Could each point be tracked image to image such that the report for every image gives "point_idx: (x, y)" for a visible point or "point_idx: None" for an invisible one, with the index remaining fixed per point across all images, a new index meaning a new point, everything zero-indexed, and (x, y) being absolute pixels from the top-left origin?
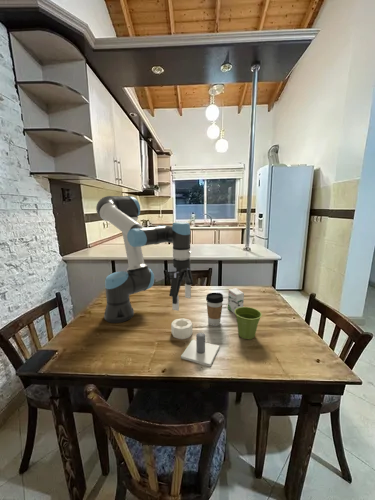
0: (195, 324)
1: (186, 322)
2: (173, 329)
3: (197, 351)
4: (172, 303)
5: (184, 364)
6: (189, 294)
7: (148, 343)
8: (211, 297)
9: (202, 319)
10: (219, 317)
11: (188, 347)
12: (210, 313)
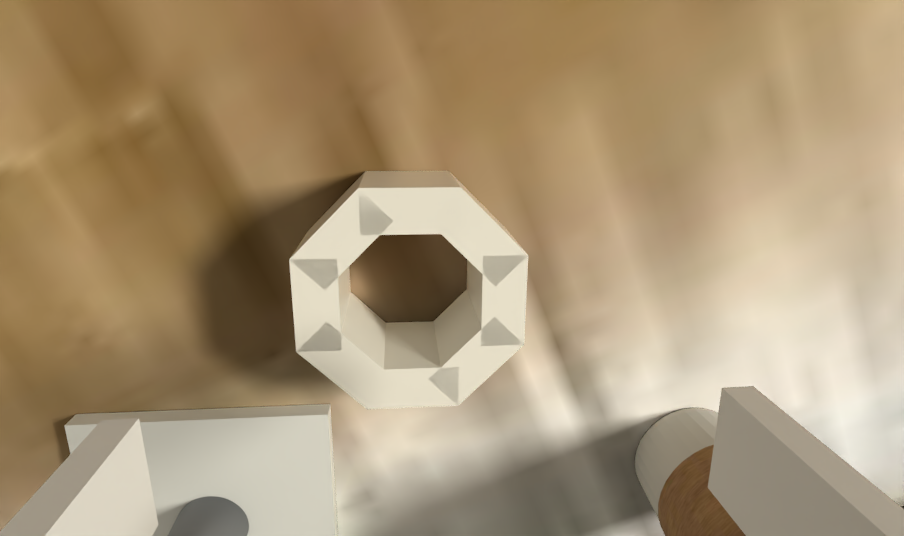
0: (604, 319)
1: (478, 322)
2: (303, 241)
3: (175, 520)
4: (17, 515)
5: (29, 464)
6: (759, 529)
7: (86, 31)
8: None
9: (715, 343)
10: None
11: (201, 430)
12: (686, 526)
